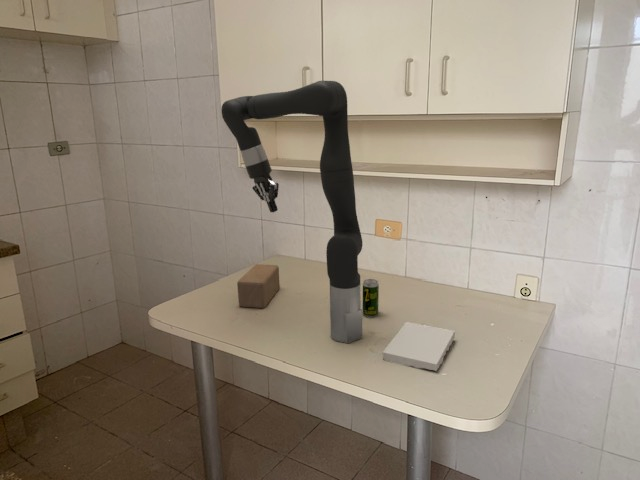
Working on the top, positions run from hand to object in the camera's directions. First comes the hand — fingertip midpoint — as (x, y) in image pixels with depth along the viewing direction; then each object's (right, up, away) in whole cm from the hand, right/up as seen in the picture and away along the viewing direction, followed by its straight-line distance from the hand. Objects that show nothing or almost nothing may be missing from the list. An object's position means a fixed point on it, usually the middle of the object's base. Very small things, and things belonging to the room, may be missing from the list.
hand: (274, 211), depth 153 cm
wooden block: (-10, -29, +11) cm, 32 cm away
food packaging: (+44, -42, -18) cm, 64 cm away
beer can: (+32, -35, +5) cm, 48 cm away
